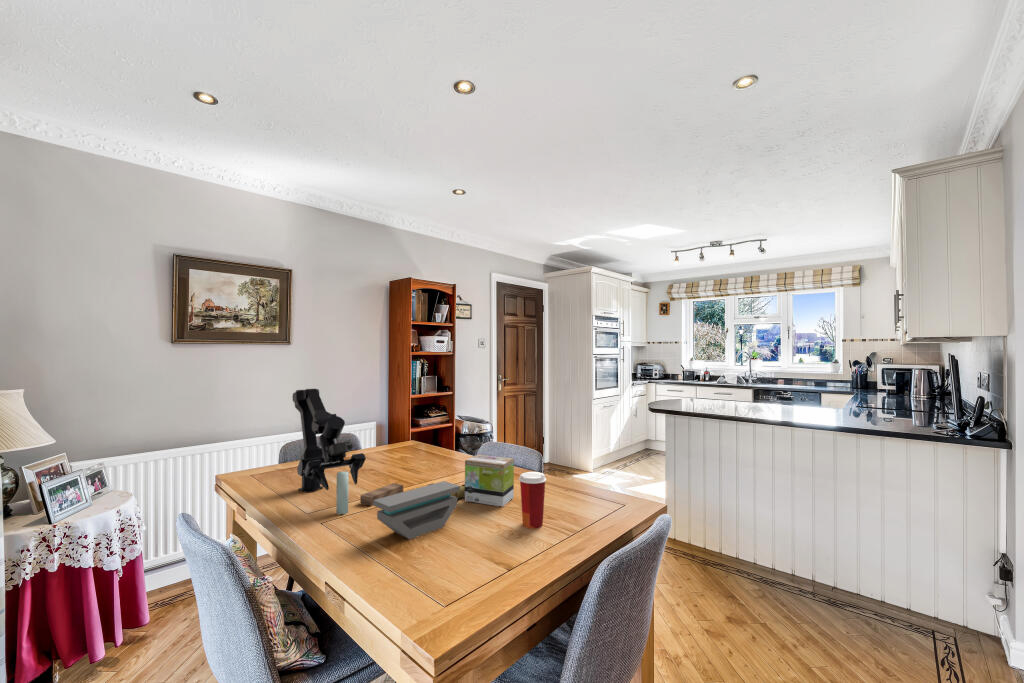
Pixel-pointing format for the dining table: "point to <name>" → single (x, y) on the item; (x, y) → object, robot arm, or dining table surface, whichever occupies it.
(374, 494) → the brown wooden block
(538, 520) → the coffee cup
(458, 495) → the gavel
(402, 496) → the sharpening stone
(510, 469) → the tea box
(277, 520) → the dining table surface
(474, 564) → the dining table surface
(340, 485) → the post
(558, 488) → the dining table surface
